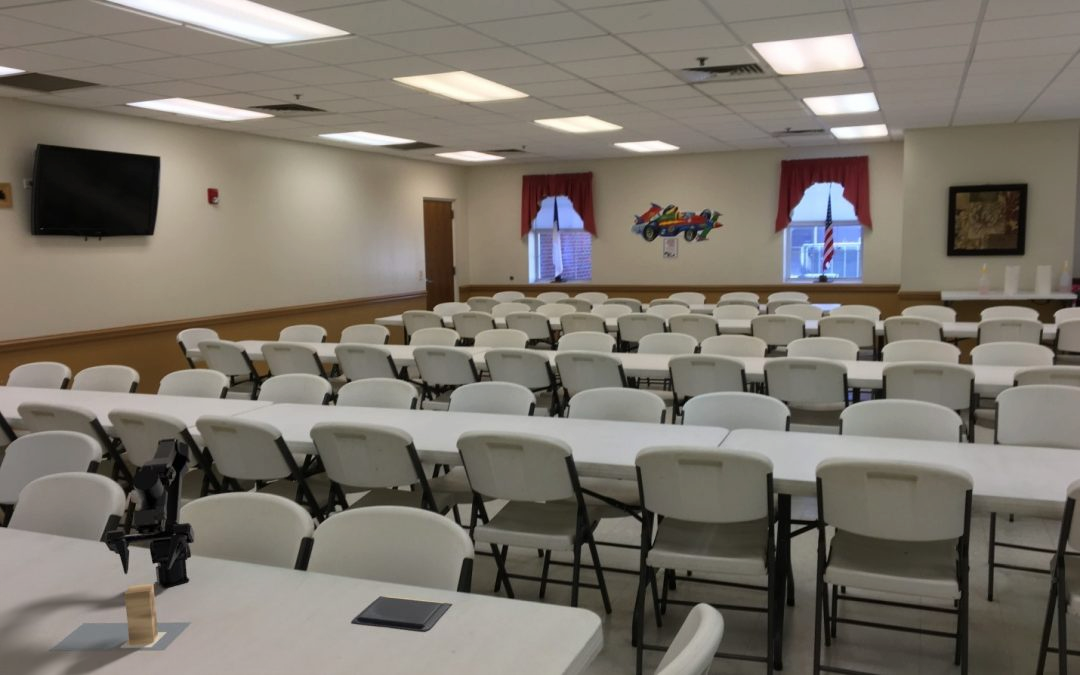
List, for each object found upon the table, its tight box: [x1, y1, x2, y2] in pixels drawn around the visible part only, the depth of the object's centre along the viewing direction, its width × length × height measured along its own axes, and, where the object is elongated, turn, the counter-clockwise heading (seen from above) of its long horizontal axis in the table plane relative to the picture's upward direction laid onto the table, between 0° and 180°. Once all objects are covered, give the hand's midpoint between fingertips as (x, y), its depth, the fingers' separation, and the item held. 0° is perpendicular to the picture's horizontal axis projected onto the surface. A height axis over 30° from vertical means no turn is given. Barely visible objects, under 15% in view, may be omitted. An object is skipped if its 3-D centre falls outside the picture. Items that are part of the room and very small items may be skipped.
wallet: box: [350, 595, 453, 633], centre depth 198 cm, size 20×2×15 cm
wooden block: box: [124, 583, 158, 645], centre depth 186 cm, size 4×5×12 cm
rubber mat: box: [48, 621, 192, 652], centre depth 189 cm, size 26×13×1 cm, turn 87°
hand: (147, 571), depth 193 cm, fingers open, 9 cm apart
